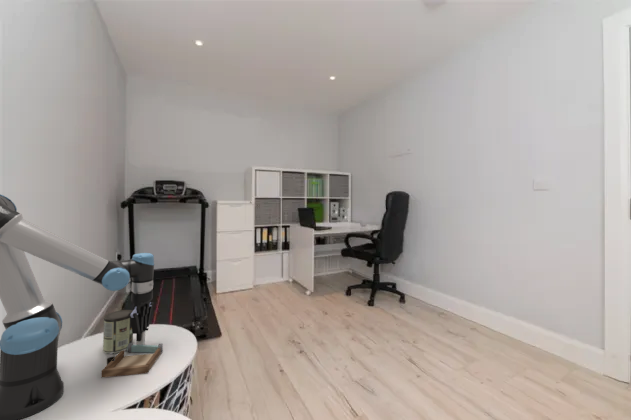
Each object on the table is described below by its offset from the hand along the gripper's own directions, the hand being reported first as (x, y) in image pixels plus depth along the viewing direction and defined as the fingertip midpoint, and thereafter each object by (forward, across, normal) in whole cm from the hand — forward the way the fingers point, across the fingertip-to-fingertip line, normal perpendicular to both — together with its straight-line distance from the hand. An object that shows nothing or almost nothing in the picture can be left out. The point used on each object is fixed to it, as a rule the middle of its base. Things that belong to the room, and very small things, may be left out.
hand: (140, 347), depth 108 cm
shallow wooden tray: (+1, -10, -4) cm, 10 cm away
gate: (+1, -1, -3) cm, 3 cm away
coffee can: (+2, +2, +11) cm, 11 cm away
